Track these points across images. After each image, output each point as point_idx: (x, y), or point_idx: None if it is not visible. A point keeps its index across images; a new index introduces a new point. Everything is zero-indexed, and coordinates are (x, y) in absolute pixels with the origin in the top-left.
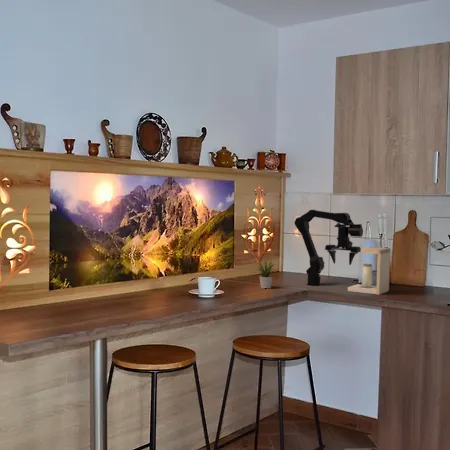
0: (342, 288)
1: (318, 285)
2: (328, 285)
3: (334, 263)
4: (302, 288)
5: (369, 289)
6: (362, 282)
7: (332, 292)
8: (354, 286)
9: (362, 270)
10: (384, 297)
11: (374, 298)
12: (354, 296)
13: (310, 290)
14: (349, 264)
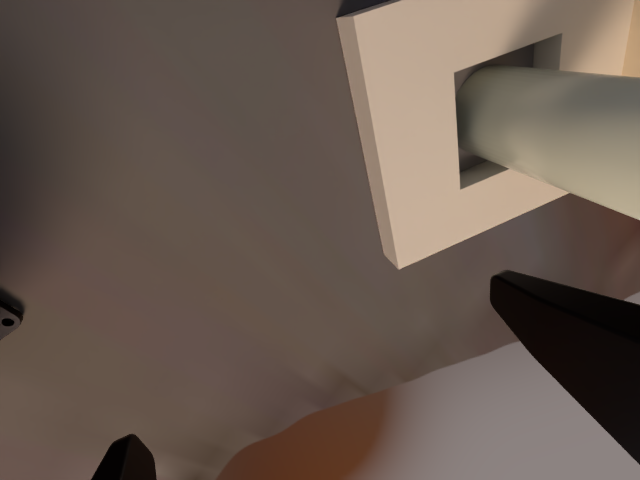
0: (277, 200)
1: (18, 311)
2: (25, 188)
3: (150, 452)
4: None
5: (555, 196)
6: (514, 169)
7: (353, 374)
8: (417, 189)
9: (635, 209)
10: (627, 218)
11: (589, 286)
12: (498, 338)
13: (218, 454)
14: (499, 311)
